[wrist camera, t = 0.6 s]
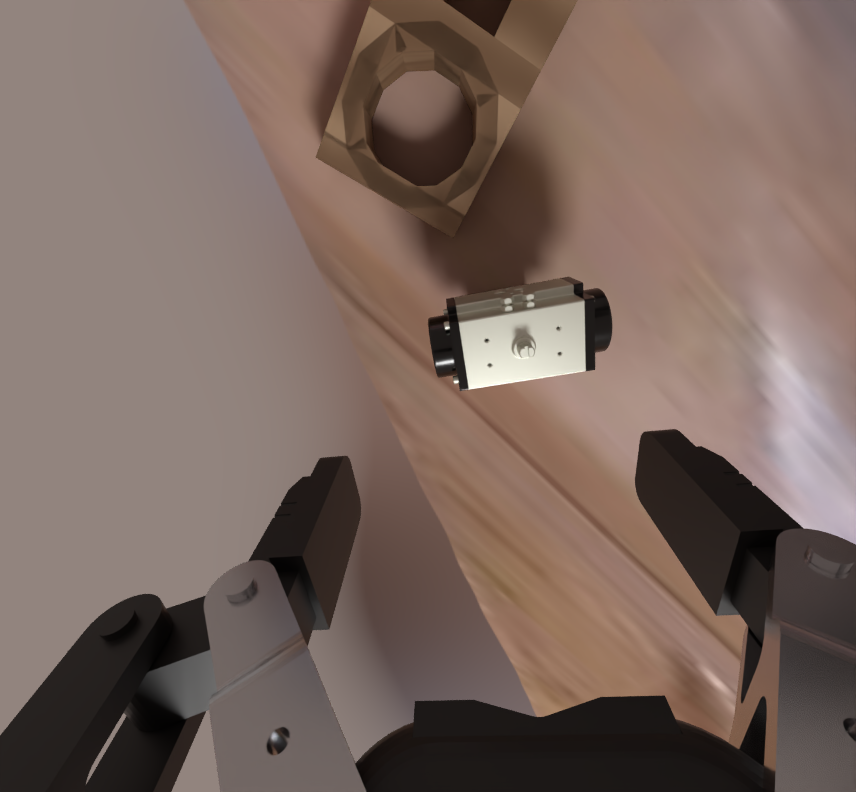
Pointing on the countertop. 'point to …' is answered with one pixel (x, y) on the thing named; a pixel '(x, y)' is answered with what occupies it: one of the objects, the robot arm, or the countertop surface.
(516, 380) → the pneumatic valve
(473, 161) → the socket block
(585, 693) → the countertop surface
